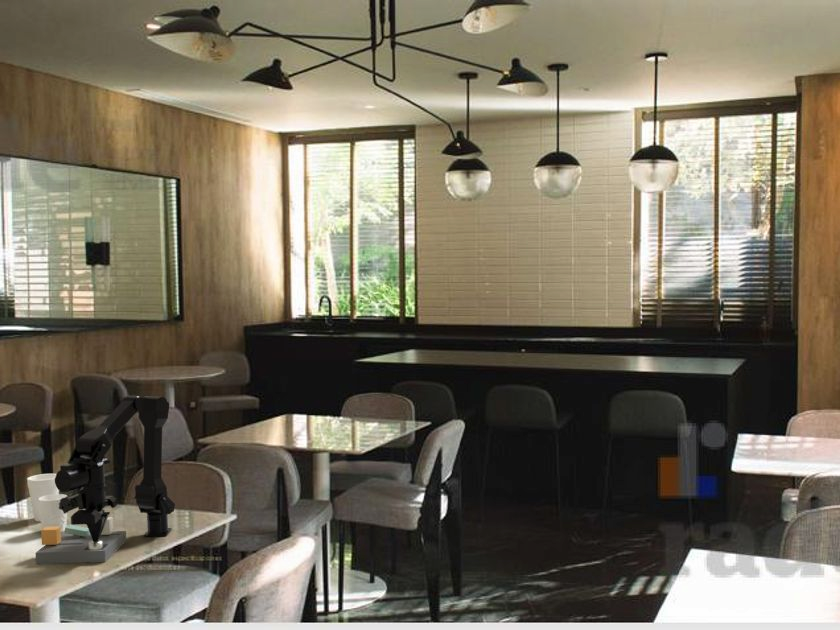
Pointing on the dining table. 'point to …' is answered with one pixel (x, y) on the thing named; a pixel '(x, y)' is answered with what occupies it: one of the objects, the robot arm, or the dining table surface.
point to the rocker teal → (77, 530)
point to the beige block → (108, 526)
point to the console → (80, 549)
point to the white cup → (52, 511)
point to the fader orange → (51, 535)
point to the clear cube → (96, 545)
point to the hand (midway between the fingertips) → (95, 541)
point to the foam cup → (41, 490)
